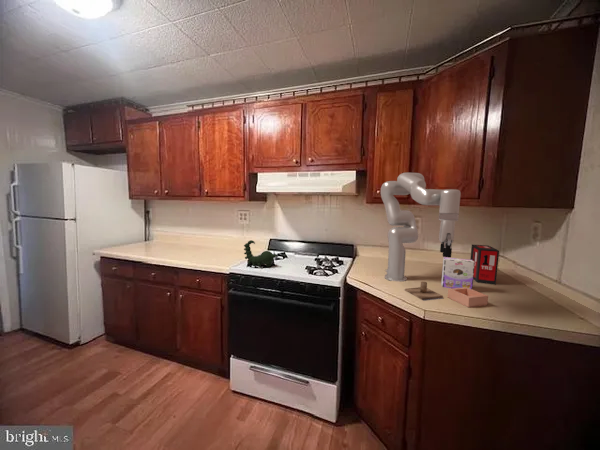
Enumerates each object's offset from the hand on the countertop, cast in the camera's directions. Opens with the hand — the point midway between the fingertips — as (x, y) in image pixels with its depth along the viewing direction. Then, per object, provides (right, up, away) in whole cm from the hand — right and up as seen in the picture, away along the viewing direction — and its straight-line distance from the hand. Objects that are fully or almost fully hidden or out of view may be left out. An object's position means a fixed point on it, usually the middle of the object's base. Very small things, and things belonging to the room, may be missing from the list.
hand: (445, 254), depth 110 cm
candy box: (+19, -22, +22) cm, 37 cm away
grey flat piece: (-4, -22, +12) cm, 25 cm away
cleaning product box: (+45, -20, +38) cm, 63 cm away
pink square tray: (+13, -23, +4) cm, 27 cm away
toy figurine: (-95, -16, +62) cm, 114 cm away
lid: (-4, -21, +12) cm, 25 cm away
